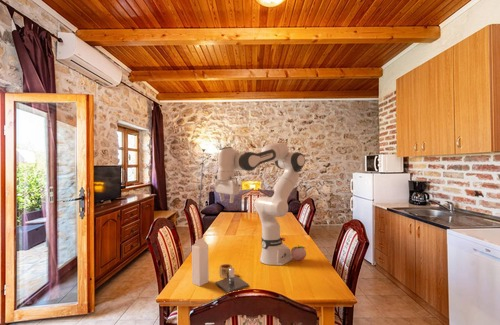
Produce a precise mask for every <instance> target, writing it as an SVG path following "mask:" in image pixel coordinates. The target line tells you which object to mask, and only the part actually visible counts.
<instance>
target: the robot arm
mask: <svg viewBox="0 0 500 325" xmlns="http://www.w3.org/2000/svg"><path fill="white" fill-rule="evenodd" d="M289 149H290V148H289V146H288V145H287V144H286V143H284V142H274V143H269V144H267V145H264V146H263V147H261V150H260V152H252V151H249V152H248V151H247V152H240V151H237V150H235V148H234V147H233V146H227V147H221V148H220V149H219V150H218V156H217V164H218V170H217V171H218V172H217V173H216V174H215V175H214V178H213V179H214V191H215V192H216V193H218V195H219V198H220V202H224V201H225V197H224V194H225V195H229V197H230V198H229V199H228V203H230V204H233V203H234V200H235V197H236V195H237V196H238V195H239V193H240V187H239V182H238V179H237V178H236V176H235V170H236V171H248V172H250V171H251V172H252V171H253V170H255V169H257V167H258V166H260V165H262V164H265V163H274V164H275V166H276V168H278V169H281V170H284V171H283V173H282V175H281V176H280V177H279V178H278V180H277V181H276V183H275V184H274V185H273V188H272V189H273V190H272V191H273V192H274V193H273V195H272V196H271V197H270V196H259V197H257V198H256V199H255V200H254V204H253V206H254V209H255V211H256V212H257V214H258V216H259V219H260V223H261V236H262V237H261V253H260V258H259V262H260V263H262V264H264V265H267V266H283V265H285V264H287V263H289V262H291V261H293V260H294V259H293V258H292V255H291V248H290V247H289V246H287V245H286V244H285V243H283V242H285V241H286V238H285V237H283V236H282V237H281V226H280V223H279V222H278V220H277V219H276V218H283V217H285V216H286V215H287V214H288V212H289V204H288V199H289V196H290V194H291V193H292V192H293V190H294V188H295V187H296V185H297V183H298V182H299V179H300V173H299V172H301V171H302V169H303V168H304V166H305V163H306V158H305V156H304V154H303V153H301V152H298V151H297V152H296V151H295V152H293V151H292V152H290V151H289Z"/></svg>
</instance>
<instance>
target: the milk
mask: <svg viewBox="0 0 500 325" xmlns="http://www.w3.org/2000/svg"><path fill="white" fill-rule="evenodd" d="M209 276H210V271H209V244H208V243H207V242H206V241H205V237H203V238H199V239H196V240H195V243H194V244H192V245H191V282H192V284H194V285H196V286H198V287H201V286H204V285H205V284H207V283H209V281H210V279H209V278H210V277H209Z"/></svg>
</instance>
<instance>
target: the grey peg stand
mask: <svg viewBox="0 0 500 325" xmlns="http://www.w3.org/2000/svg"><path fill="white" fill-rule="evenodd" d="M214 284H215V285H216V286H217V287H219V289H221V290H222V291H223V292H225V293H226V294H227V293H228V294H230V293H229V292H231V293H233V292H232V291H234V292H236V291H238V290H242V289H245V288H247V287H249V286H250V285H249V283H248V282H246V281H245V280H243V279H242V278H240V277H239V276H237V275H235V268H234V267H232V268H229V278H222V279H220V280H217V281H215V283H214ZM244 287H245V288H244Z"/></svg>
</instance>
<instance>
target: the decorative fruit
mask: <svg viewBox="0 0 500 325" xmlns="http://www.w3.org/2000/svg"><path fill="white" fill-rule="evenodd" d="M290 251H291V255H292V258H293V260H294V261H296V262H298V263H300V262H302V261H303V260H304V259H305V258H306V256H307V251H306V247H305V246H302V245H301V246H300V245H297V246H294V247H292V248H290Z"/></svg>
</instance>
